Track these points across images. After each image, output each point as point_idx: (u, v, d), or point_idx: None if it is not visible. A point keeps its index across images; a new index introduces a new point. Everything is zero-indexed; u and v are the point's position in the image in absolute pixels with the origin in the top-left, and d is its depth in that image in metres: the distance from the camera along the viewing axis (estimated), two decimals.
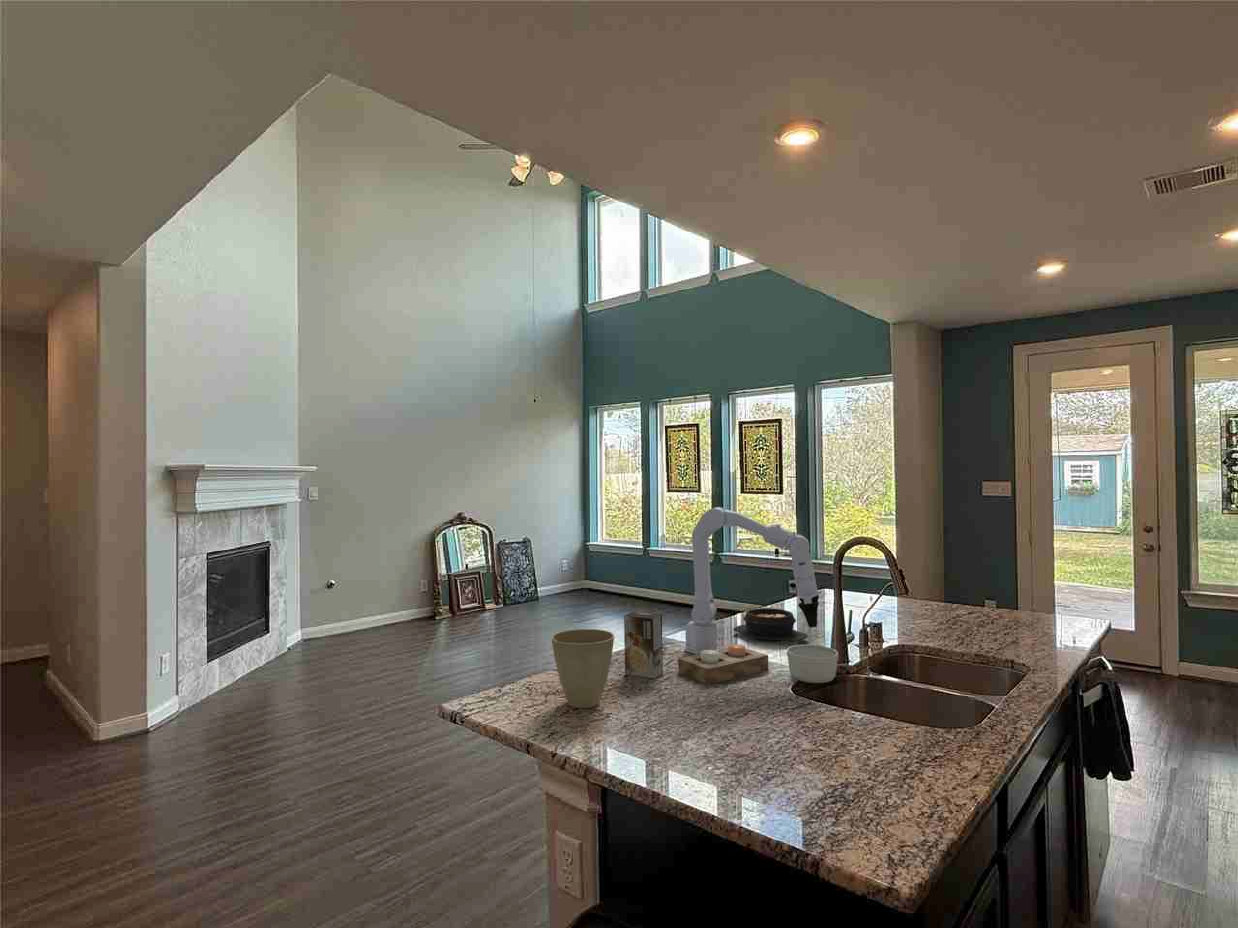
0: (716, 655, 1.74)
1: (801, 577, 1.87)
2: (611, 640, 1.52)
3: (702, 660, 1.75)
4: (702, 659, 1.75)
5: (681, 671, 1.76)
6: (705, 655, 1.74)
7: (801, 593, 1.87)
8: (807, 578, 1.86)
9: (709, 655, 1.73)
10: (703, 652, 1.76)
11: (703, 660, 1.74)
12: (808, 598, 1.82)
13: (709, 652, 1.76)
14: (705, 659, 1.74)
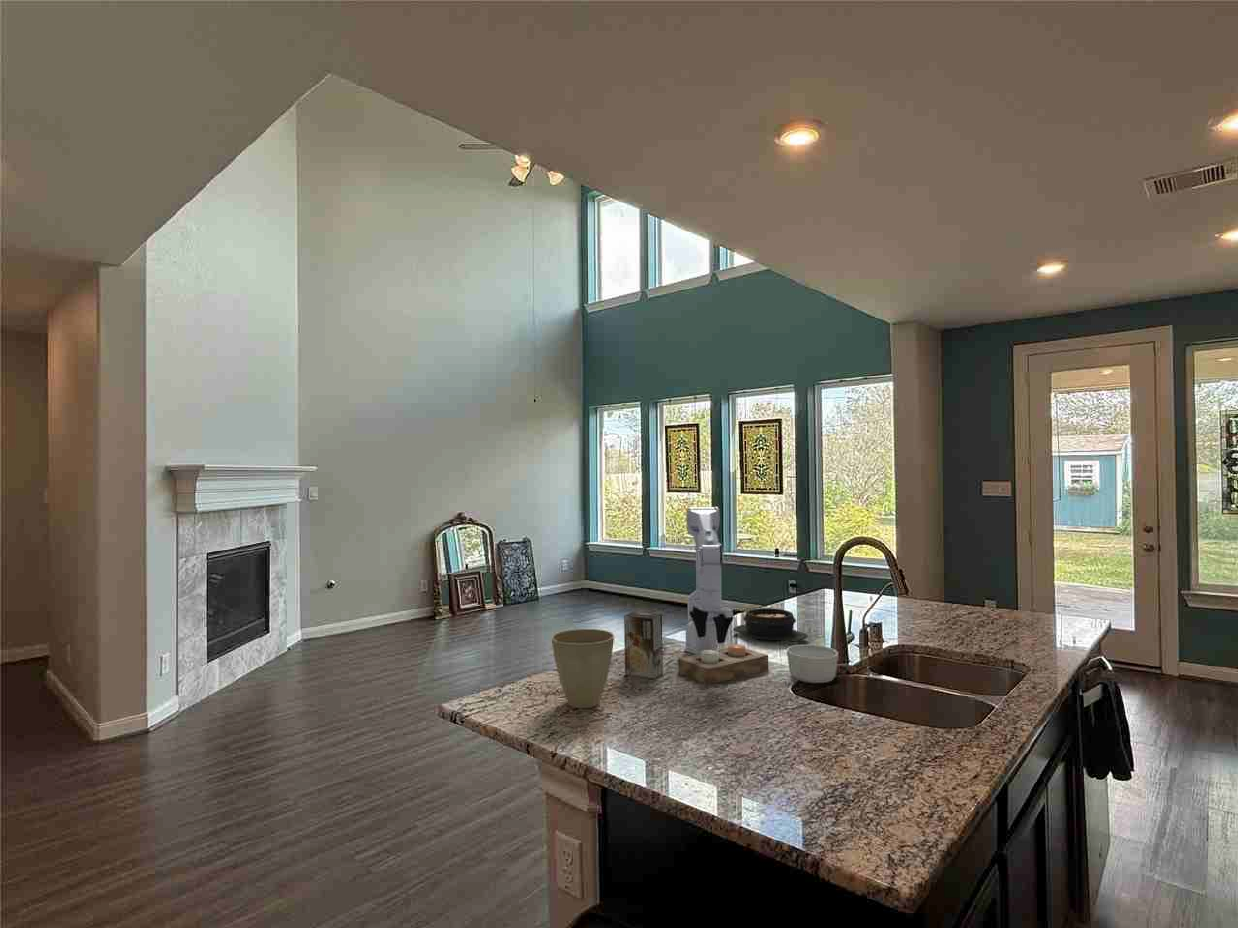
0: (716, 655, 1.74)
1: None
2: (611, 640, 1.52)
3: (702, 660, 1.75)
4: (702, 659, 1.75)
5: (681, 671, 1.76)
6: (705, 655, 1.74)
7: None
8: None
9: (709, 655, 1.73)
10: (703, 652, 1.76)
11: (703, 660, 1.74)
12: None
13: (709, 652, 1.76)
14: (705, 659, 1.74)
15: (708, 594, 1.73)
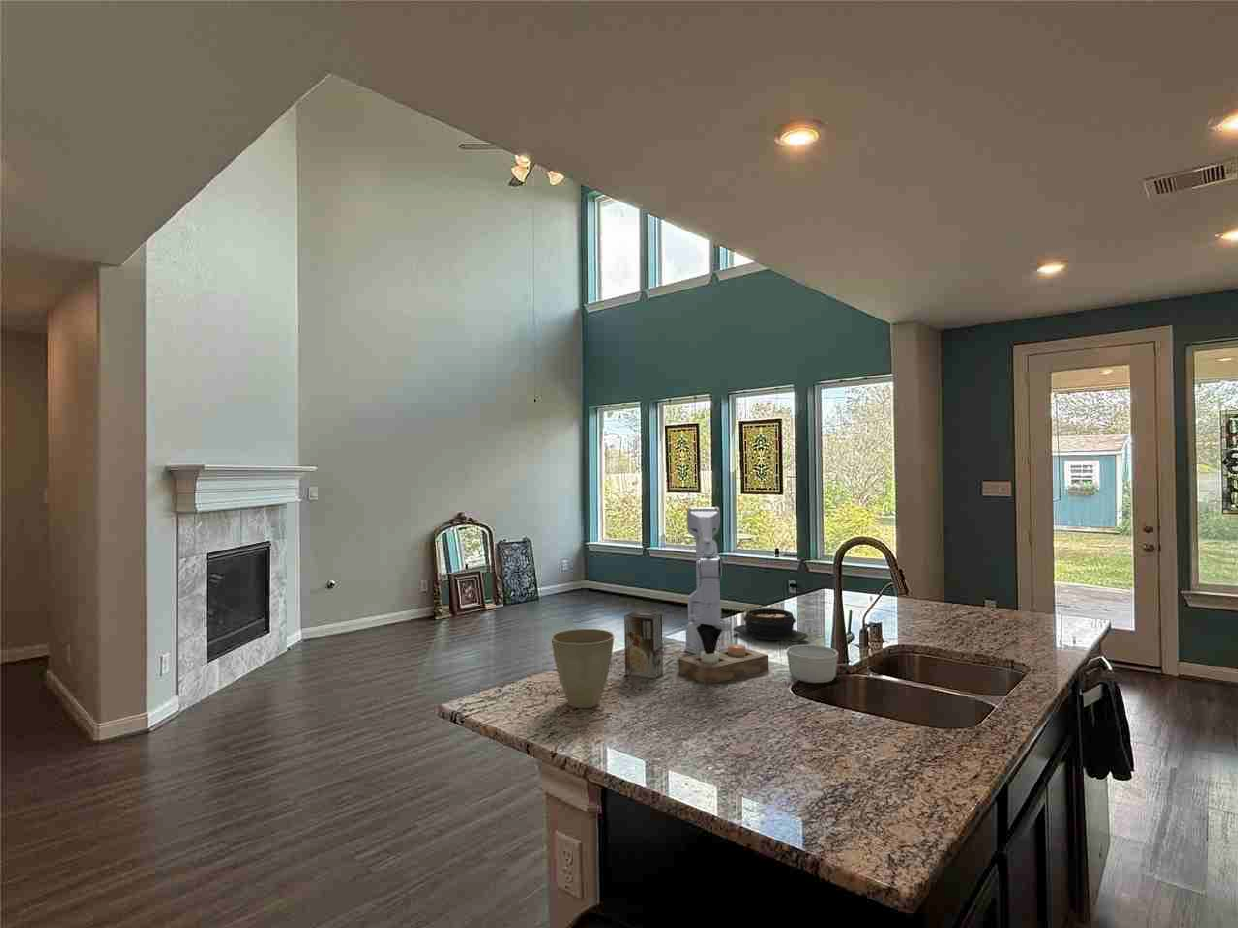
0: (716, 656, 1.74)
1: None
2: (611, 640, 1.52)
3: (702, 661, 1.75)
4: (702, 660, 1.75)
5: (681, 671, 1.76)
6: (705, 656, 1.74)
7: None
8: None
9: (709, 656, 1.73)
10: (703, 653, 1.76)
11: (703, 661, 1.74)
12: None
13: None
14: (705, 660, 1.74)
15: (706, 607, 1.73)
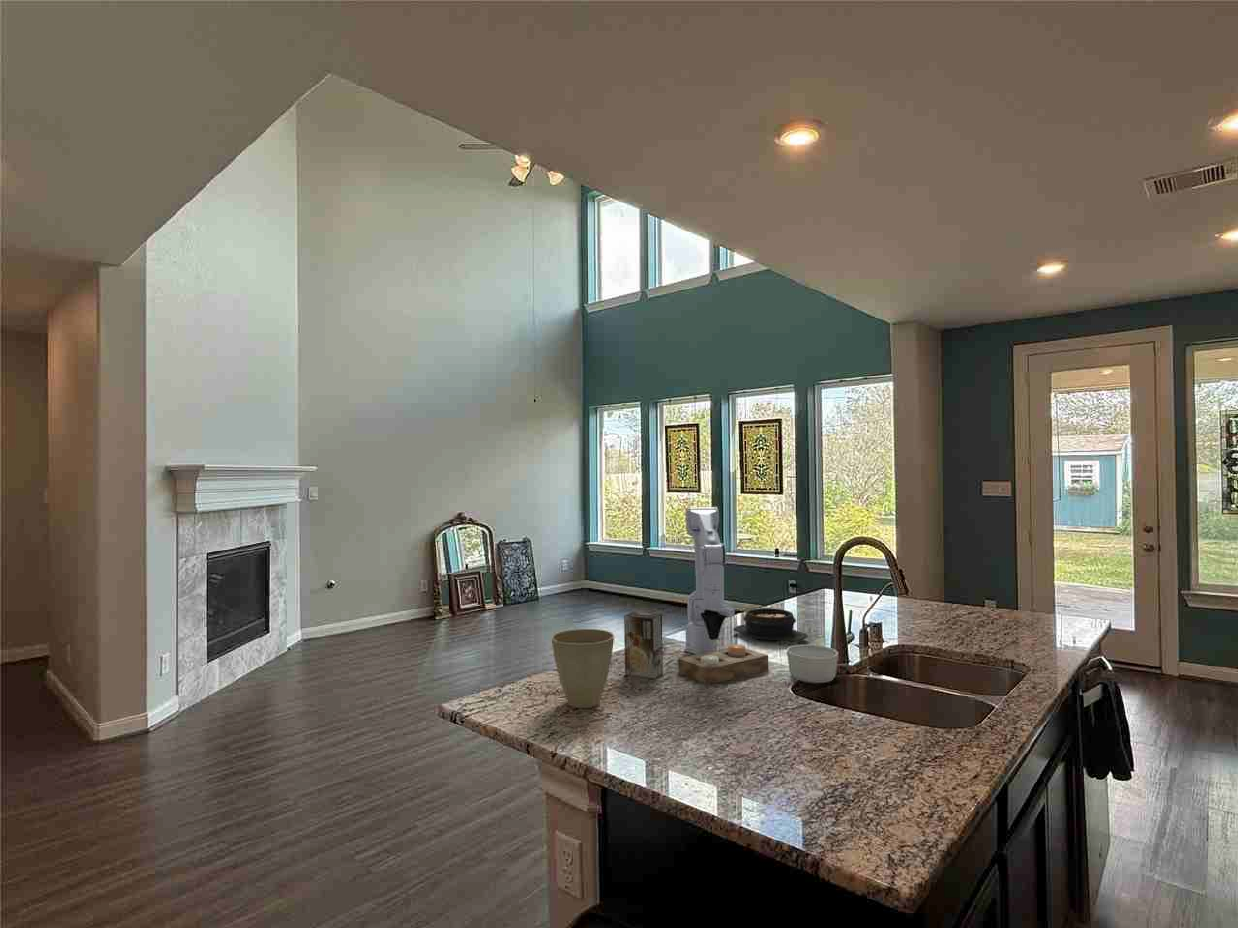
0: (716, 661, 1.74)
1: None
2: (611, 640, 1.52)
3: None
4: None
5: (681, 671, 1.76)
6: (705, 661, 1.74)
7: None
8: None
9: (709, 661, 1.73)
10: (703, 658, 1.76)
11: None
12: None
13: (709, 658, 1.76)
14: None
15: (710, 594, 1.74)
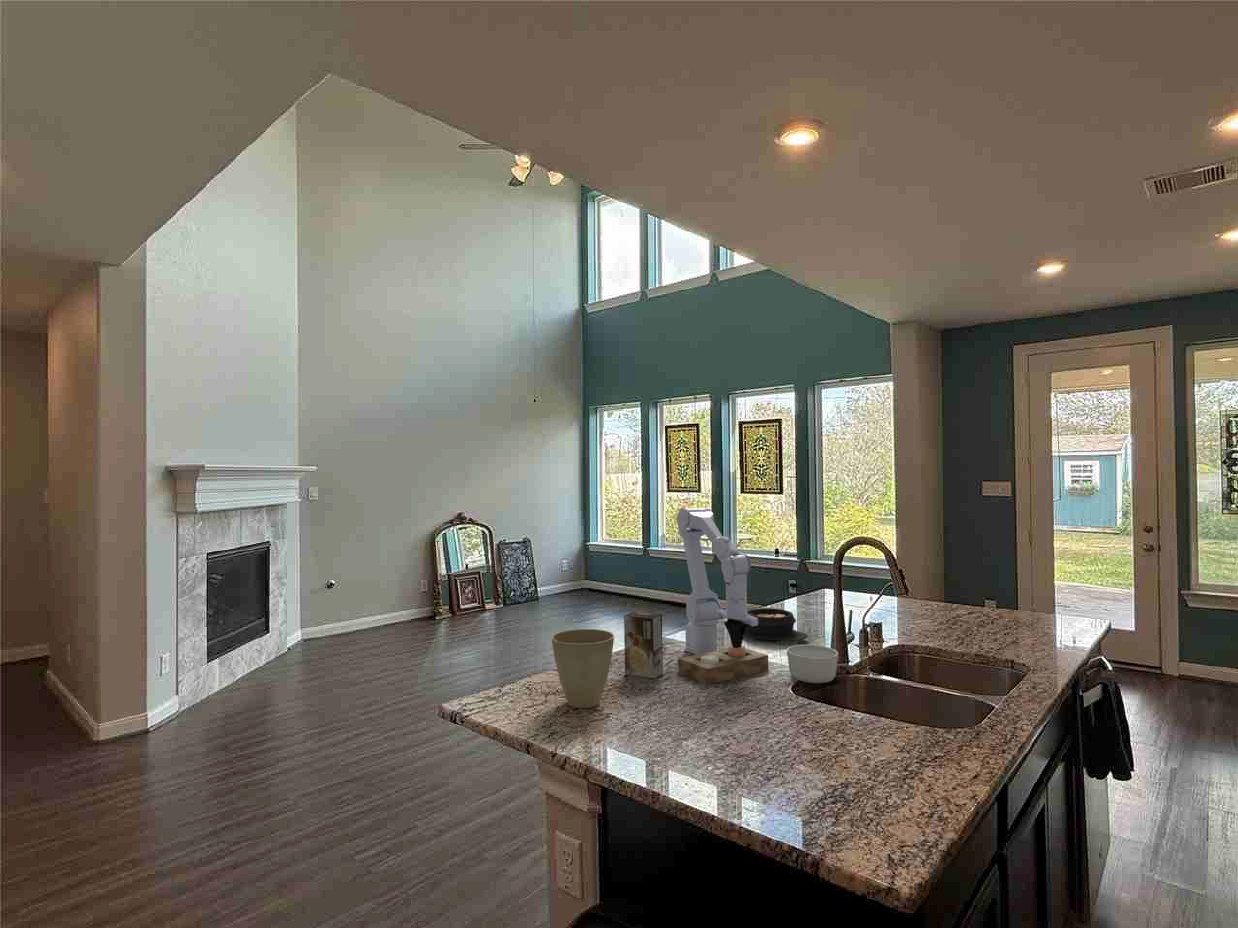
0: (716, 661, 1.74)
1: (726, 597, 1.81)
2: (611, 640, 1.52)
3: None
4: None
5: (681, 671, 1.76)
6: (705, 661, 1.74)
7: None
8: None
9: (709, 661, 1.73)
10: (703, 658, 1.76)
11: None
12: None
13: (709, 658, 1.76)
14: None
15: (734, 603, 1.79)
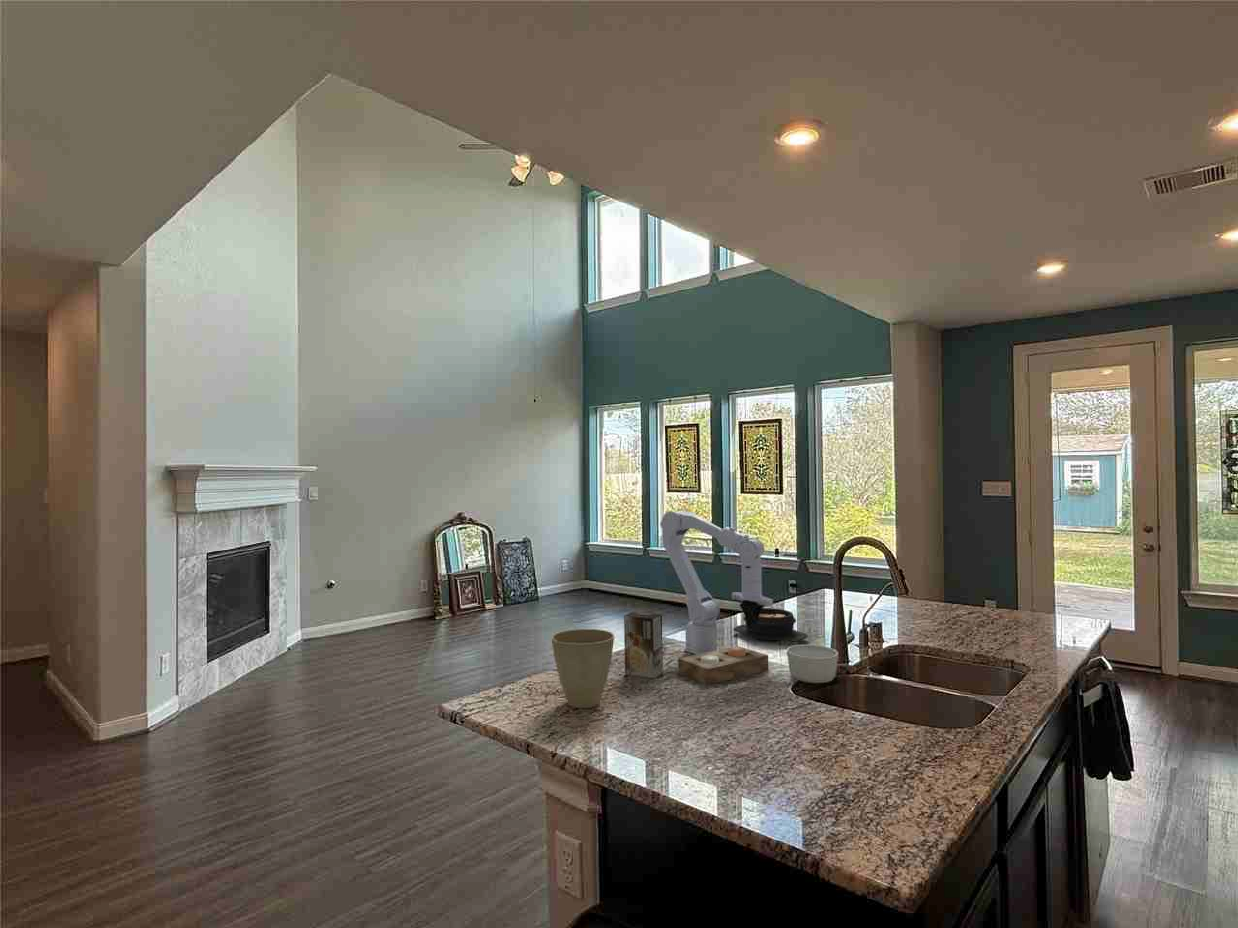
0: (716, 661, 1.74)
1: (745, 580, 1.87)
2: (611, 640, 1.52)
3: None
4: None
5: (681, 671, 1.76)
6: (705, 661, 1.74)
7: None
8: None
9: (709, 661, 1.73)
10: (703, 658, 1.76)
11: None
12: None
13: (709, 658, 1.76)
14: None
15: (749, 585, 1.86)
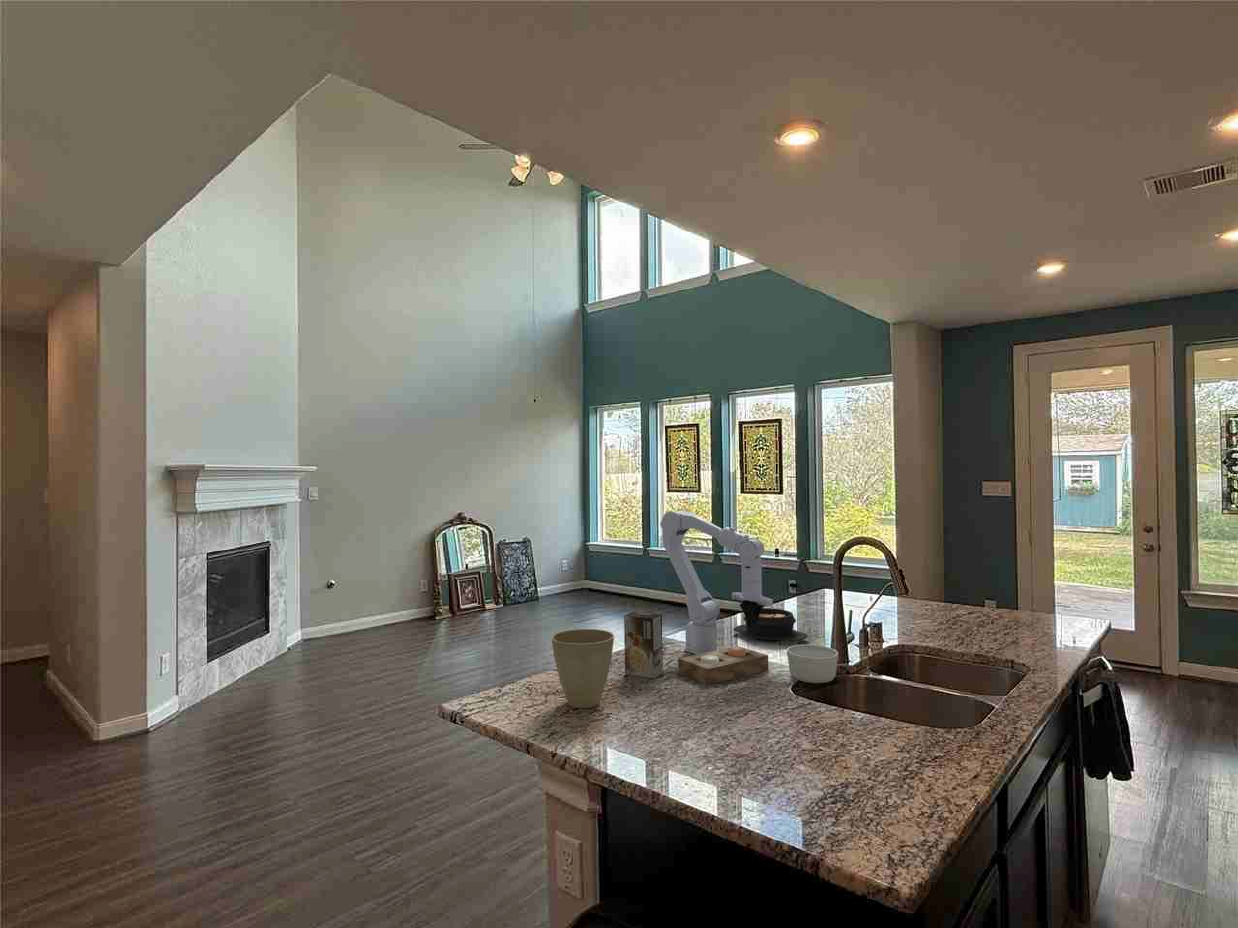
0: (716, 661, 1.74)
1: (745, 580, 1.87)
2: (611, 640, 1.52)
3: None
4: None
5: (681, 671, 1.76)
6: (705, 661, 1.74)
7: None
8: None
9: (709, 661, 1.73)
10: (703, 658, 1.76)
11: None
12: None
13: (709, 658, 1.76)
14: None
15: (749, 585, 1.86)
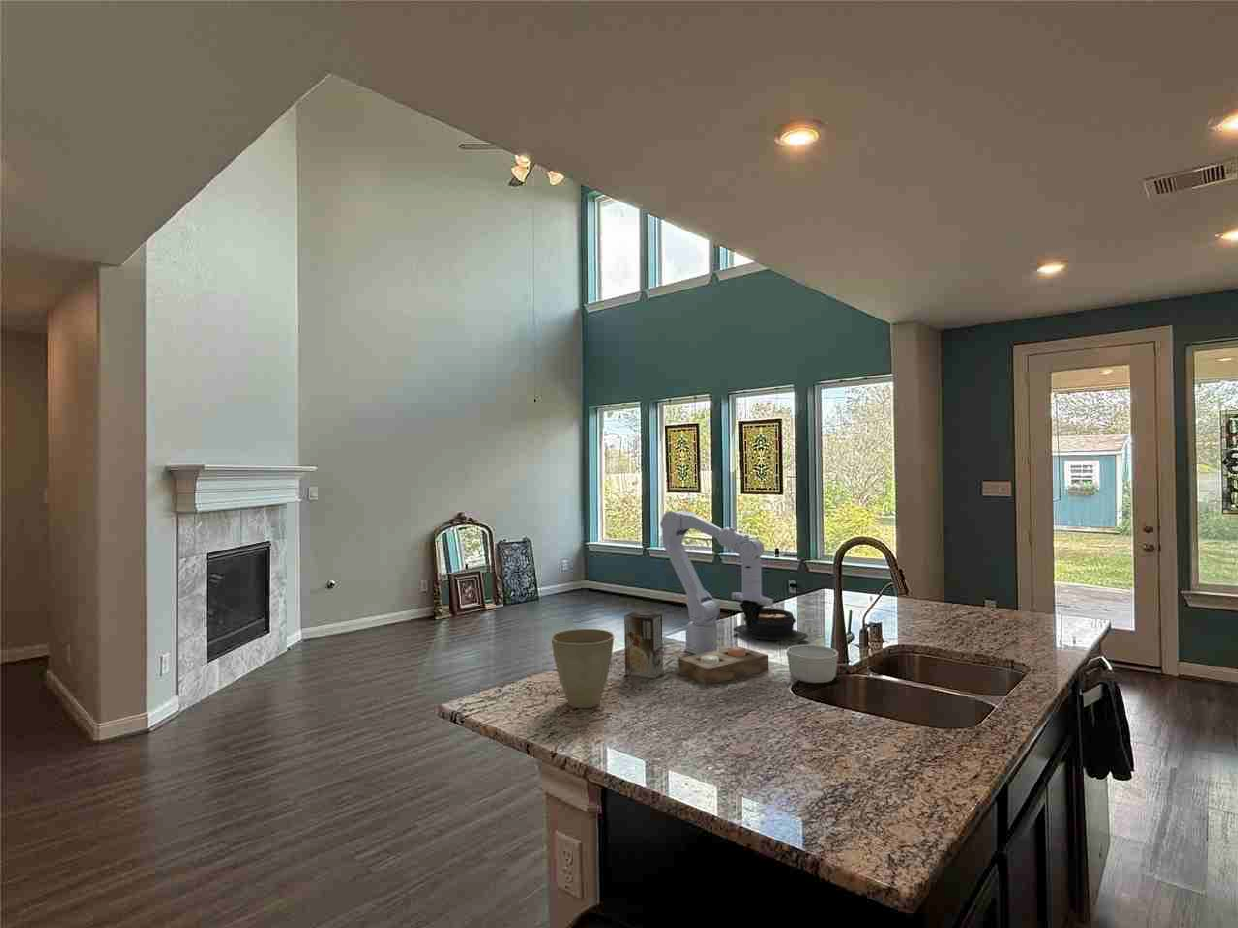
0: (716, 661, 1.74)
1: (745, 580, 1.87)
2: (611, 640, 1.52)
3: None
4: None
5: (681, 671, 1.76)
6: (705, 661, 1.74)
7: None
8: None
9: (709, 661, 1.73)
10: (703, 658, 1.76)
11: None
12: None
13: (709, 658, 1.76)
14: None
15: (749, 585, 1.86)
